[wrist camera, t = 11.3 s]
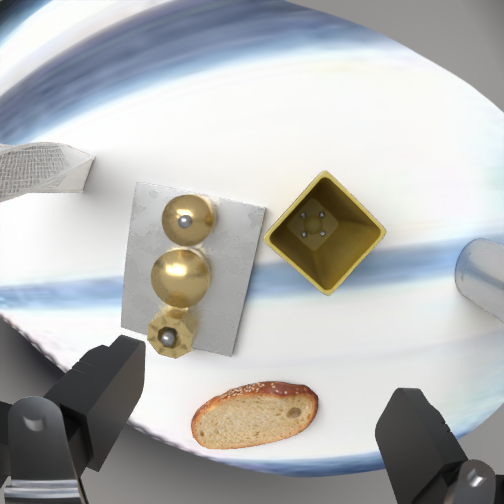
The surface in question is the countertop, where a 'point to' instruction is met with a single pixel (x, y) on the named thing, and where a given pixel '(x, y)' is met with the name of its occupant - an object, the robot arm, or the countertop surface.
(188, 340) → the gold octagonal ring
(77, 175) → the skyscraper
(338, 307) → the countertop surface
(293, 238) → the flower pot
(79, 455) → the robot arm
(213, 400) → the slice of bread
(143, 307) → the carrier
